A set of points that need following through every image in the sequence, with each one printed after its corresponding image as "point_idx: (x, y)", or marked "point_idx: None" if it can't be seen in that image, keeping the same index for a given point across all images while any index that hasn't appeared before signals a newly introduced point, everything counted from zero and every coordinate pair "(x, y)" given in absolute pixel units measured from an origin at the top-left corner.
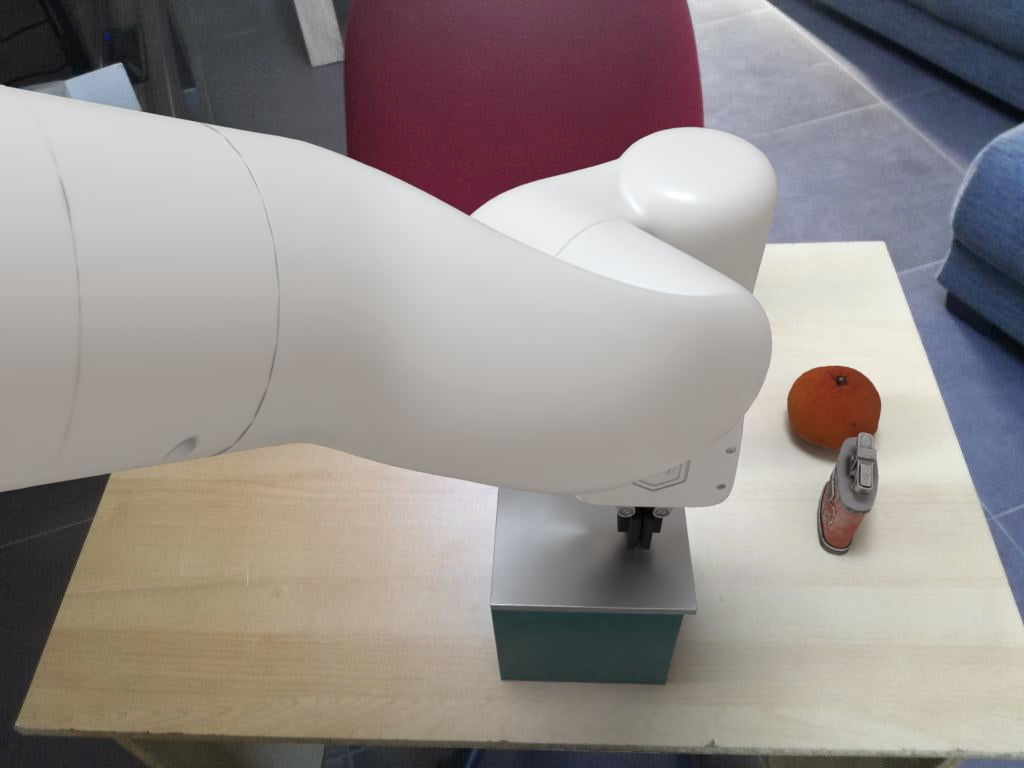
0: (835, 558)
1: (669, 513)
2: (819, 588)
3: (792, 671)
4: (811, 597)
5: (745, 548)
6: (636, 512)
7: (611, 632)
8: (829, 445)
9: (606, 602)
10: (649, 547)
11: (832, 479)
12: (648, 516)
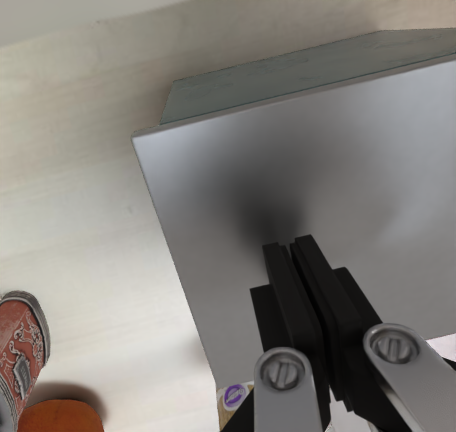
0: (14, 287)
1: (257, 373)
2: (21, 249)
3: (23, 141)
4: (27, 237)
5: (115, 272)
6: (347, 343)
7: (285, 78)
8: (47, 408)
9: (336, 101)
10: (265, 249)
11: (21, 385)
12: (312, 342)
